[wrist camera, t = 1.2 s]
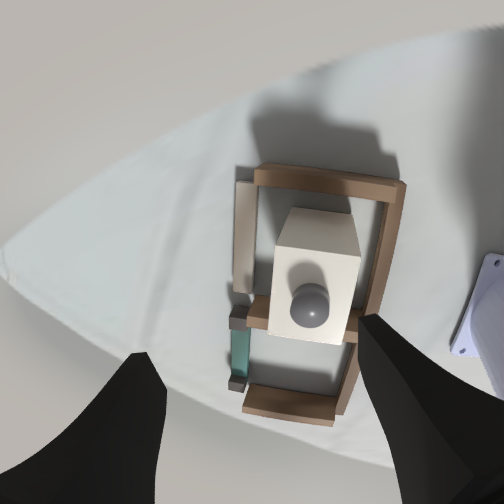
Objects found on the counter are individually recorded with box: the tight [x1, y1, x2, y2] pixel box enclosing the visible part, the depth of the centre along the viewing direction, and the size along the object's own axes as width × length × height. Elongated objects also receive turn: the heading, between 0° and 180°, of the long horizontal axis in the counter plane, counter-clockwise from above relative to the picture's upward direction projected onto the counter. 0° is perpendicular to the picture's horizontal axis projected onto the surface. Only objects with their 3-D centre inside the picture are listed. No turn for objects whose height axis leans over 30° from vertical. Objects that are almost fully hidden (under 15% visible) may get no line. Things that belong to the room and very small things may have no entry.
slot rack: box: [228, 163, 407, 427], centre depth 20 cm, size 9×18×2 cm, turn 177°
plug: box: [267, 207, 361, 345], centre depth 16 cm, size 4×4×7 cm
